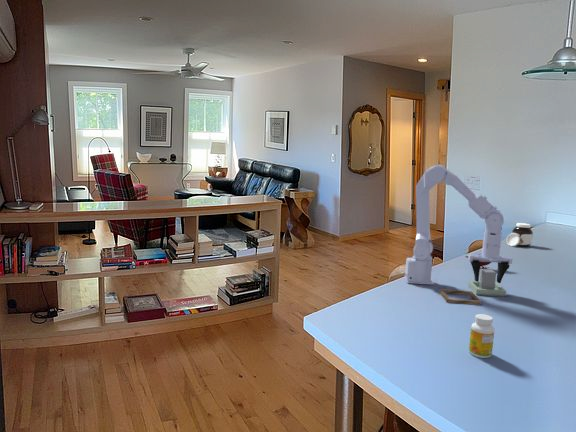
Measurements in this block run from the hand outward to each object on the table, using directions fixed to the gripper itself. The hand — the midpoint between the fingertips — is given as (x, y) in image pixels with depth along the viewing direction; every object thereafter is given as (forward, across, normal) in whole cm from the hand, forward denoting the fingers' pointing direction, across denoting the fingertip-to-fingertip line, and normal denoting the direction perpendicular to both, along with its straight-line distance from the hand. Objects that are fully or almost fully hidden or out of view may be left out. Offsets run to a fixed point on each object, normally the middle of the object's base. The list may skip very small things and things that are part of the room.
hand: (487, 281), depth 170 cm
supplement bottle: (+4, -18, -54) cm, 57 cm away
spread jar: (+4, +43, +87) cm, 98 cm away
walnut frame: (+4, -12, -10) cm, 16 cm away
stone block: (+3, 0, 0) cm, 3 cm away
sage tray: (+4, 0, 0) cm, 4 cm away
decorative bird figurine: (+4, +7, +31) cm, 32 cm away
